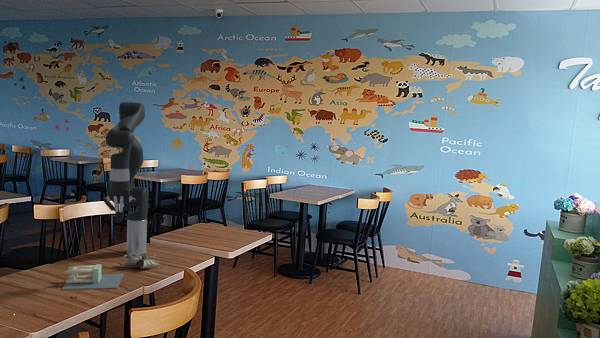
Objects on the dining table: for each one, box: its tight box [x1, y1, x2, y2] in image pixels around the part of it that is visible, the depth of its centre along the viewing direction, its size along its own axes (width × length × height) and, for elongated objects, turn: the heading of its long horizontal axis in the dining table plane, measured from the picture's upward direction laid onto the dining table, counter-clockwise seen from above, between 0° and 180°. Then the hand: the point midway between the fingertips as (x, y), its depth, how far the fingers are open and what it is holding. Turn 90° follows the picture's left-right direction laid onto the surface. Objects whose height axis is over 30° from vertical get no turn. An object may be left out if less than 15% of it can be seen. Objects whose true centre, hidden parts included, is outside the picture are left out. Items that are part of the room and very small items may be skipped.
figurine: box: [117, 253, 163, 270], centre depth 203 cm, size 20×6×17 cm
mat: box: [61, 273, 125, 291], centre depth 181 cm, size 16×20×1 cm
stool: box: [65, 263, 102, 285], centre depth 180 cm, size 6×6×12 cm
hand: (119, 220), depth 185 cm, fingers closed
